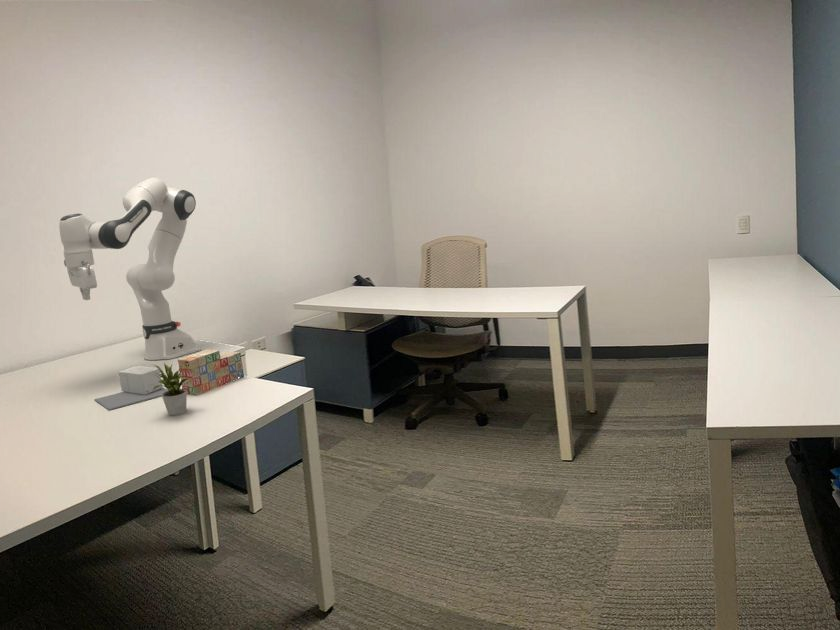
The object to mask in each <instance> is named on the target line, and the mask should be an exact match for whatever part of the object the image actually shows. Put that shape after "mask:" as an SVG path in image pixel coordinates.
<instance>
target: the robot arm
mask: <svg viewBox="0 0 840 630" xmlns="http://www.w3.org/2000/svg"><path fill="white" fill-rule="evenodd" d="M196 204H197V203H196V197H195V196H194V194H193V193H192V192H189V191H188V190H185V189H180V188H177V187H173V186H167V185H166V184H165V182H164V181H163V180H162V179H161V178H159V177H153V176H152V177H149V178H147V179H144V180H143V181H141V182H138V183H137V184H136V185H134V186H133V187H131V188H130V189H129V190H128V191H126V193H125V194H124V196H123V197H122V205H123V206H122V207H123V208H124V209H125V211H126V212H125V214H123V216H121V217H120V218H118V219H113V220H109V221H96V220H93V219H90V218H88V217H86V216H85V215H84V214H83V213H73V214H67V215H65V216H62V217H61V218H60V219H59V225H58V226H59V227H58V228H59V229H58V230H59V235H60V243H62V246H63V256H64V257H63V258H64V260H63V265H64V267H66V270H67V273H68V278H69V281H70V284H71V286H72V287H77V288H79V291H80V293H81V296H82V300H84V301H90V300H91V289H96V288H97V287H98V283H97V281H98V280H97V278H96V273H95V270H94V267H93V265H95V260H94V254H93V250H97V249H98V250H100V249H101V250H103V249H105V250H106V249H111V250H112V249H113V250H121V249H123V248H124V247H126V246H127V245H128V244H129V242H130V240H131V238H132V236H133V234H134V232H136V230H137V229H139V228H140V226H141V225H142V224H143V223H145V221H146V220H147V219H148V218H149V216H151V213H152V212H153V211H157V212H158V213H162V214H161V218H160V221H159V222H158V224H157V225H156V227H155V230H154V231H153V234H152V236H151V239H150V240H149V243H148V245H147V249H148V259H147V262H146V263H139V264H135V265H133V266H131V267H130V268H129V269H128V270H127V272H126V274H125V278H126V282H127V284H128V285H129V286H130V287H131V288H132V290H133V293H134V295H135V298H136V300H137V302H138V306H139V309H140V313H141V319H142V335H143V337H144V340H145V341H144V342H145V343H144V344H145V345H144V346H145V349H144V352H145V353H144V359H145V360H146V361H155V360H172V359H175V358H179V357H182V356H183V357H184V356H187V355H191V354H194V353H198V352H201V351H202V348H201V346H199V345H197V344H196V343H195V341H194V339H193V337H192V335H190V334H188V333H186V332H185V331H182V330H180V329H178V328H179V327H180V326H181V322H180V321H173V320H172V315H171V310H170V309H171V308H170V304H169V301H168V300H167V299H166V298H165V297H164V294H163V291H165V290H168V289H170V288H171V287H172V286H174V283H175V279H176V278H175V274H174V263H175V257H176V255H177V253H178V250H179V247H180V245H181V243H182V242H183V241H182V240H183V238H184V235H185V232H186V228H187V224H188V220H187V219H189V217H190V216H191V215H192V214H193V212H194V211H195V209H196Z"/></svg>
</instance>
